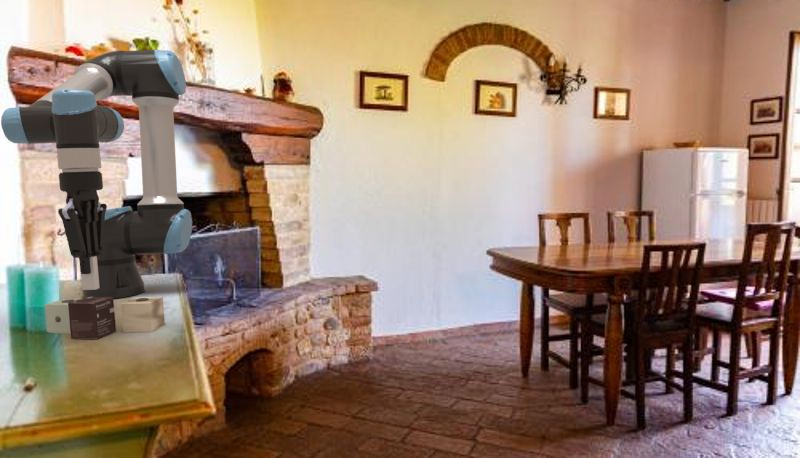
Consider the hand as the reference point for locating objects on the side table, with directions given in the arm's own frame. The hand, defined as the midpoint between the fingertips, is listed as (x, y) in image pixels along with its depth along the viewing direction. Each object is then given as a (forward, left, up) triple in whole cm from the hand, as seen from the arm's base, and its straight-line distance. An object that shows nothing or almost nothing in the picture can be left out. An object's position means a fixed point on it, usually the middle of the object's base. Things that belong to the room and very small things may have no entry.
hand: (90, 288), depth 121 cm
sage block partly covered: (-5, -8, -10) cm, 13 cm away
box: (0, 0, -10) cm, 10 cm away
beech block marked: (-5, +8, -10) cm, 13 cm away
